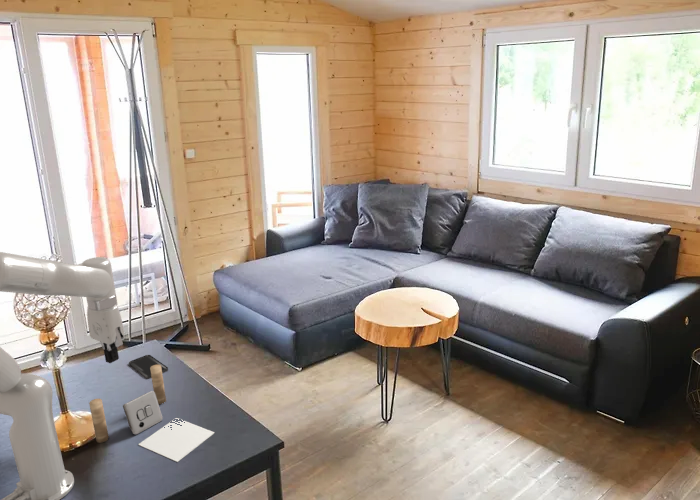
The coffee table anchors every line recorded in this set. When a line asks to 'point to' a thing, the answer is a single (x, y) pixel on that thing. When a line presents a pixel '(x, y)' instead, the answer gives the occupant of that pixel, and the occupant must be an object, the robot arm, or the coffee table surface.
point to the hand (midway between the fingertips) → (112, 360)
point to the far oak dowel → (158, 383)
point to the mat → (176, 439)
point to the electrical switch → (142, 412)
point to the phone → (146, 365)
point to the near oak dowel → (99, 420)
